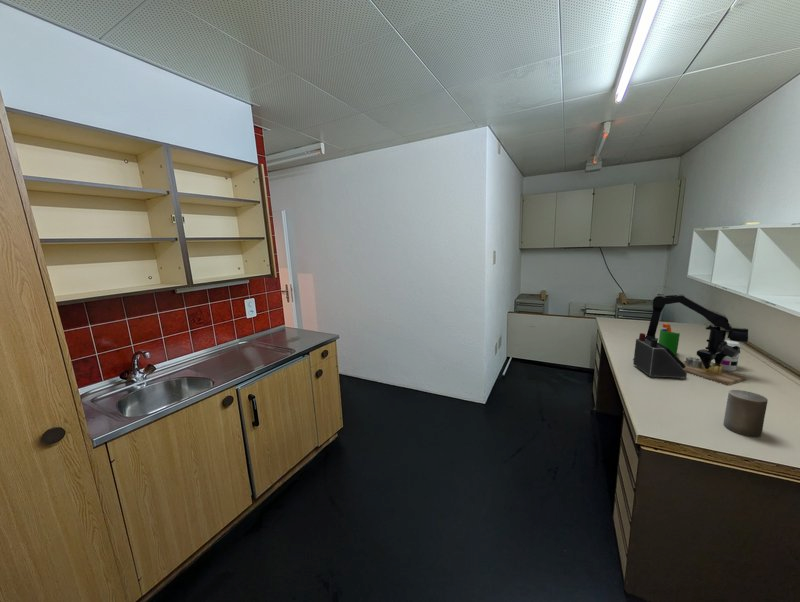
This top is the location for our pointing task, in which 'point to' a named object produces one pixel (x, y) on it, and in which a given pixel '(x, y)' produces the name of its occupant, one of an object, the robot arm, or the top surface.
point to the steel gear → (694, 363)
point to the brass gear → (713, 368)
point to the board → (715, 375)
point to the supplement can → (730, 358)
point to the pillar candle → (745, 413)
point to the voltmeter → (657, 359)
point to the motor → (669, 338)
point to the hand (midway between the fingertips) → (712, 367)
